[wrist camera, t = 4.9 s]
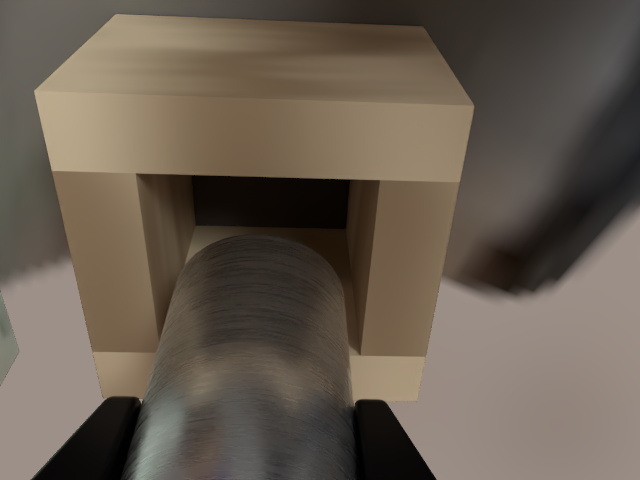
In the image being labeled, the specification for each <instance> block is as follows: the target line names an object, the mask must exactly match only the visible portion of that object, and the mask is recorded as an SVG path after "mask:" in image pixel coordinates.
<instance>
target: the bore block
mask: <svg viewBox="0 0 640 480" xmlns="http://www.w3.org/2000/svg"><path fill="white" fill-rule="evenodd" d="M34 93H35V97H36V102H37V106H38V111H39V115H40V120H41V124H42V129H43V133H44V138H45V142H46V147H47V151H48V155H49V160H50V164H51V169H52V173H53V178H54V182H55V187H56V191H57V196H58V200H59V205H60V209H61V214H62V218H63V222H64V227H65V231H66V236H67V240H68V245H69V249H70V254H71V258H72V263H73V267H74V272H75V276H76V280H77V285H78V290H79V294H80V298H81V303H82V307H83V311H84V316H85V321H86V325H87V329H88V334H89V338H90V343H91V347H92V352H93V356H94V361H95V365H96V370H97V374H98V379H99V383H100V388H101V392H102V397H103V398H109V397H111V396H135V397H137V398H140V399H143V397H144V394H145V390H146V387H147V383H148V380H149V376H150V373H151V369H152V366H153V362H154V359H155V355H156V352H157V348H158V345H159V341H160V338H161V334H162V331H163V327H164V324H165V320H166V316H167V313H168V309H169V306H170V302H171V299H172V295H173V292H174V288H175V285H176V282H177V279H178V276H179V274H180V272H181V270H182V269H183V267H184V266H185V265H186V263H187V262H188V261H189V260H190V259H191V258H192V257H193V256H194V255H195V254H196V253H197V252H199V251H200V250H202V249H203V248H204V247H206V246H208V245H210V244H212V243H214V242H216V241H219V240H221V239H224V238H228V237H232V236H236V235H243V234H270V235H276V236H281V237H285V238H288V239H291V240H294V241H297V242H299V243H301V244H304V245H306V246H307V247H309V248H311V249H312V250H314V251H315V252H317V253H318V254H319V255H320V256H322V257H323V258H324V259H325V260H326V261H327V262H328V263H329V264H330V265H331V267H332V268H333V269H334V271H335V272H336V274H337V276H338V278H339V280H340V282H341V285H342V288H343V293H344V300H345V311H346V322H347V334H348V345H349V356H350V368H351V379H352V390H353V401H357V400H359V399H380V400H383V401H395V402H417V399H418V394H419V389H420V384H421V379H422V373H423V368H424V363H425V358H426V353H427V348H428V343H429V338H430V332H431V328H432V322H433V317H434V312H435V307H436V302H437V297H438V292H439V286H440V281H441V276H442V271H443V266H444V261H445V256H446V250H447V245H448V240H449V235H450V230H451V225H452V220H453V214H454V209H455V204H456V199H457V194H458V189H459V184H460V178H461V173H462V168H463V163H464V158H465V153H466V148H467V142H468V137H469V132H470V127H471V122H472V117H473V112H474V104H473V103H472V101H471V100H470V98H469V96H468V95H467V93H466V92H465V90H464V89H463V87H462V86H461V84H460V83H459V81H458V79H457V78H456V76H455V75H454V73H453V72H452V70H451V69H450V67H449V66H448V64H447V63H446V61H445V59H444V58H443V56H442V55H441V53H440V52H439V50H438V49H437V47H436V46H435V44H434V42H433V41H432V39H431V38H430V36H429V35H428V33H427V32H426V30H425V29H424V27H423V26H401V25H376V24H351V23H326V22H301V21H276V20H250V19H225V18H200V17H175V16H150V15H125V14H116V15H115V16H113V17H112V18H111V19H110V20H109V21H108V22H107V23H106V24H105V25H104V26H103V27H102V28H101V29H100V30H99V31H97V32H96V33H95V34H94V35H93V36H92V37H91V38H90V39H89V40H88V41H87V42H86V43H85V44H84V45H83V46H81V47H80V48H79V49H78V50H77V51H76V52H75V53H74V54H73V55H72V56H71V57H70V58H69V59H68V60H67V61H65V62H64V63H63V64H62V65H61V66H60V67H59V68H58V69H57V70H56V71H55V72H54V73H53V74H52V75H51V76H49V77H48V78H47V79H46V80H45V81H44V82H43V83H42V84H41V85H40V86H39V87H38V88H37V89H36V90H35V91H34ZM192 175H214V176H250V177H286V178H321V179H350V187H349V200H348V212H347V224H346V229H320V228H279V227H238V226H197V225H196V224H195V212H194V200H193V188H192Z"/></svg>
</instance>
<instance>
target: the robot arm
mask: <svg viewBox="0 0 640 480" xmlns="http://www.w3.org/2000/svg"><path fill="white" fill-rule="evenodd" d="M140 408H141V402H140V400H139V398H137V397H135V396H111V397H109V398H107V399H106V400H105V401H104V402H103V403H102V404H101V405H100V406H99V407H98V408H97V409H96V410H95V411H94V413H93V414H92V415H91V416H90V417H89V418H88V419H87V420H86V421H85V422H84V423H83V424H82V425H81V426H80V428H79V429H78V430H77V431H76V432H75V433H74V434H73V435H72V436H71V437H70V438H69V439H68V440H67V441H66V442H65V444H64V445H63V446H62V447H61V448H60V449H59V450H58V451H57V452H56V453H55V454H54V455H53V456H52V458H50V460H49V461H48V462H47V463H46V464H45V465H44V466H43V467H42V468H41V469H40V470H39V471H38V472H37V474H36V475H35V476H34V477H33V478H32V479H31V480H120V478H121V474H122V471H123V467H124V464H125V460H126V457H127V453H128V450H129V446H130V443H131V439H132V436H133V432H134V429H135V425H136V422H137V418H138V415H139V411H140ZM354 417H355V428H356V439H357V451H358V462H359V474H360V480H436V478H435V476H434V475H433V473H432V472H431V470H430V469H429V467H428V466H427V464H426V463H425V461H424V460H423V458H422V457H421V455H420V453H419V452H418V450H417V449H416V447H415V446H414V444H413V443H412V441H411V440H410V438H409V437H408V435H407V434H406V432H405V431H404V429H403V427H402V426H401V424H400V423H399V421H398V420H397V418H396V417H395V415H394V414H393V412H392V411H391V409H390V408H389V406H388V405H387V403H386V402H385V401H383V400H380V399H359V400H357V401H356V403H355V406H354Z"/></svg>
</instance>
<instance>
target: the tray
mask: <svg viewBox="0 0 640 480" xmlns="http://www.w3.org/2000/svg"><path fill="white" fill-rule="evenodd" d="M18 353H19V348H18V345H17V342H16V339H15V336H14V333H13V330H12V327H11V323H10V320H9V317H8V314H7V311H6V307H5V304H4V301H3V298H2V295H1V291H0V386H1V383H2V382H3V380H4V378H5V377H6V375H7V373H8V371H9V369H10V367H11V365H12V364H13V362H14V360H15V358H16V356H17V355H18Z"/></svg>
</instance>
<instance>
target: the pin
mask: <svg viewBox="0 0 640 480" xmlns="http://www.w3.org/2000/svg"><path fill="white" fill-rule="evenodd" d="M120 480H360V474H359V462H358V451H357V439H356V428H355V417H354V403H353V390H352V379H351V368H350V356H349V345H348V334H347V322H346V311H345V300H344V293H343V288H342V285H341V282H340V280H339V278H338V276H337V274H336V272H335V271H334V269H333V268H332V267H331V265H330V264H329V263H328V262H327V261H326V260H325V259H324V258H323V257H322V256H320V255H319V254H318V253H317V252H315V251H314V250H312V249H311V248H309V247H307V246H306V245H304V244H301V243H299V242H297V241H294V240H291V239H288V238H285V237H281V236H276V235H270V234H243V235H236V236H232V237H228V238H224V239H221V240H219V241H216V242H214V243H212V244H210V245H208V246H206V247H204V248H203V249H202V250H200V251H199V252H197V253H196V254H195V255H194V256H193V257H192V258H191V259H190V260H189V261H188V262H187V263H186V265H185V266H184V267H183V269H182V270H181V272H180V274H179V276H178V279H177V282H176V285H175V288H174V292H173V295H172V299H171V302H170V306H169V309H168V313H167V316H166V320H165V324H164V327H163V331H162V334H161V338H160V341H159V345H158V348H157V352H156V355H155V359H154V362H153V366H152V369H151V373H150V376H149V380H148V383H147V387H146V390H145V394H144V397H143V401H142V404H141V408H140V411H139V415H138V418H137V422H136V425H135V429H134V432H133V436H132V439H131V443H130V446H129V450H128V453H127V457H126V460H125V464H124V467H123V471H122V474H121V478H120Z"/></svg>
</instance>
